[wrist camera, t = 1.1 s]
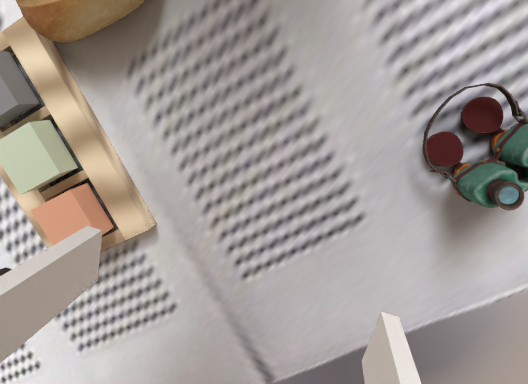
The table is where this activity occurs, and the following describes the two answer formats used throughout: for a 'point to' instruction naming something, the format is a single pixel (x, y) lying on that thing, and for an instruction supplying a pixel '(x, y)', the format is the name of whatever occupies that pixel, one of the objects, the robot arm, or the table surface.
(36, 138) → the sage tile
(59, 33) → the bread roll
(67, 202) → the terracotta tile
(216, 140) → the table surface
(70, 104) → the board
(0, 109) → the charcoal tile
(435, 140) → the binoculars
